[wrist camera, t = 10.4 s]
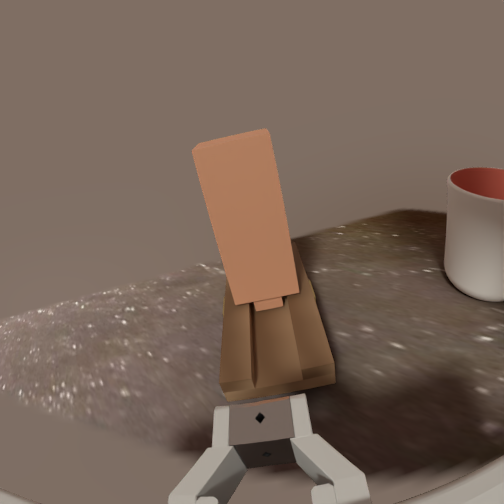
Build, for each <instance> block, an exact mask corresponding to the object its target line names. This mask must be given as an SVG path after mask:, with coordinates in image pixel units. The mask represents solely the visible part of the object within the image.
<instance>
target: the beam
mask: <svg viewBox="0 0 504 504" xmlns="http://www.w3.org/2000/svg"><path fill="white" fill-rule="evenodd" d="M291 246H292V251H293V257H294V263H295V269H296V275H297V281H298V287H299V293H296V294H291V295H286V296H282V301H283V306H282V307H277V308H272V309H267V310H262V311H256V309H255V305H254V302H250V303H245V304H239V305H235V302H234V299H233V296H232V292H231V289H230V286H229V282H228V279H227V278H226V291H225V297H224V303H223V317H224V318H223V332H222V346H221V362H220V378H219V384H220V386H221V388H222V390H223V393H224V395H225V397H226V399H227V401H228V402H230V401H238V400H245V399H252V398H259V397H266V396H272V395H278V394H283V393H289V392H294V391H300V390H305V389H310V388H315V387H319V386H324V385H329V384H333V383H336V382H335V365H334V360H333V356H332V353H331V350H330V347H329V343H328V340H327V337H326V334H325V330H324V327H323V324H322V321H321V318H320V315H319V311H318V308H317V305H316V297H315V294H314V291H313V288H312V285H311V282H310V280H308V278H307V275H306V272H305V269H304V266H303V263H302V260H301V257H300V254H299V251H298V248H297V245H296V242H295V241H294V242H291Z"/></svg>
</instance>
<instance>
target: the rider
mask: <svg viewBox="0 0 504 504" xmlns="http://www.w3.org/2000/svg"><path fill="white" fill-rule="evenodd" d="M192 154H193V158H194V162H195V166H196V169H197V173H198V177H199V180H200V184H201V188H202V191H203V195H204V199H205V202H206V206H207V209H208V213H209V216H210V220H211V223H212V227H213V231H214V234H215V237H216V241H217V245H218V248H219V252H220V255H221V258H222V262H223V265H224V269H225V272H226V276H227V279H228V282H229V286H230V289H231V292H232V296H233V299H234V302H235V305H239V304H245V303H250V302H254V305H255V309H256V311H262V310H267V309H272V308H277V307H282V306H283V301H282V296H286V295H291V294H296V293H299V287H298V281H297V275H296V269H295V263H294V257H293V251H292V246H291V240H290V235H289V229H288V224H287V218H286V213H285V208H284V202H283V197H282V192H281V187H280V182H279V176H278V171H277V166H276V162H275V157H274V152H273V147H272V142H271V138H270V133H269V132H268V131H267V129H266V128H265V129H260V130H255V131H250V132H246V133H241V134H236V135H232V136H227V137H223V138H219V139H215V140H211V141H206V142H202V143H199V144H198V145H197V146H196V147H195V148H194V149H193V150H192Z"/></svg>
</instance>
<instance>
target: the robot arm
mask: <svg viewBox="0 0 504 504" xmlns="http://www.w3.org/2000/svg"><path fill="white" fill-rule="evenodd" d="M502 1H503V3H504V0H502ZM294 462H297V464H298V465H299V466H300V467H301V468H302V469H303V470H304V471H305V473H306V474H307V475H308V476H309V477H310V478H311V479H312V480H313V481H314V482H315V483H316V484H317V485H318V486H314V487H313V488H312V490H311V495H312V504H372V502H371V498H370V494H369V489H368V485H367V481H366V477H365V474H364V473H363V472H362V471H360V470H359V469H358V468H357V467H356V466H354V465H353V464H352V463H351V462H350V461H348V460H347V459H346V458H345V457H344V456H343V455H341V454H340V453H339V452H338V451H337V450H336V449H334V448H333V447H332V446H331V445H330V444H329V443H328V442H326V441H325V440H324V439H323V438H322V437H321V436H320V435H319V434H313V432H312V427H311V421H310V416H309V410H308V405H307V399H306V395H305V393H303V394H299V395H294V396H286V397H281V398H276V399H270V400H264V401H260V402H254V403H245V404H237V405H226V406H217V407H216V408H215V410H214V421H213V437H212V447H211V448H207V449H206V451H205V452H204V453H203V454H202V456H201V457H200V458H199V459H198V461H197V462H196V463H195V464H194V466H193V467H192V468H191V469H190V471H189V472H188V473H187V474H186V475H185V477H184V478H183V479H182V480H181V481H180V483H179V484H178V485H177V486H176V487H175V488H174V490H173V491H172V492H171V493H170V494H169V498H168V504H227V502H228V501H229V499H230V498H231V496H232V494H233V493H234V491H235V490H236V488H237V486H238V485H239V483H240V481H241V480H242V478H243V476H244V475H245V473H246V471H247V469H248V468H256V467H263V466H270V465H278V464H286V463H294ZM0 504H41V503H38V502H35V501H32V500H29V499H27V498H24V497H21V496H19V495H16V494H14V493H11V492H9V491H6V490H4V489H2V488H0ZM395 504H504V455H503V456H501V457H499V458H497V459H496V460H494V461H492V462H490V463H488V464H487V465H485V466H483V467H481V468H479V469H477V470H475V471H473V472H471V473H469V474H467V475H465V476H463V477H461V478H459V479H456V480H454V481H452V482H450V483H447V484H445V485H443V486H440V487H438V488H436V489H433V490H431V491H428V492H426V493H423V494H420V495H418V496H415V497H412V498H409V499H407V500H404V501H401V502H398V503H395Z"/></svg>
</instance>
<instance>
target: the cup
mask: <svg viewBox="0 0 504 504" xmlns="http://www.w3.org/2000/svg"><path fill="white" fill-rule="evenodd" d="M444 268H445V272H446V274H447V276H448V278H449V280H450V281H451V282H452V283H453V285H454V286H455V287H456V288H457V289H459V290H460V291H462V292H463V293H465V294H467V295H468V296H471V297H473V298H476V299H479V300H483V301H490V302H500V301H504V169H498V168H487V167H473V168H464V169H460V170H456V171H454V172H452V173H451V174H450V175H449V176H448V179H447V226H446V243H445V256H444Z"/></svg>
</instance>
